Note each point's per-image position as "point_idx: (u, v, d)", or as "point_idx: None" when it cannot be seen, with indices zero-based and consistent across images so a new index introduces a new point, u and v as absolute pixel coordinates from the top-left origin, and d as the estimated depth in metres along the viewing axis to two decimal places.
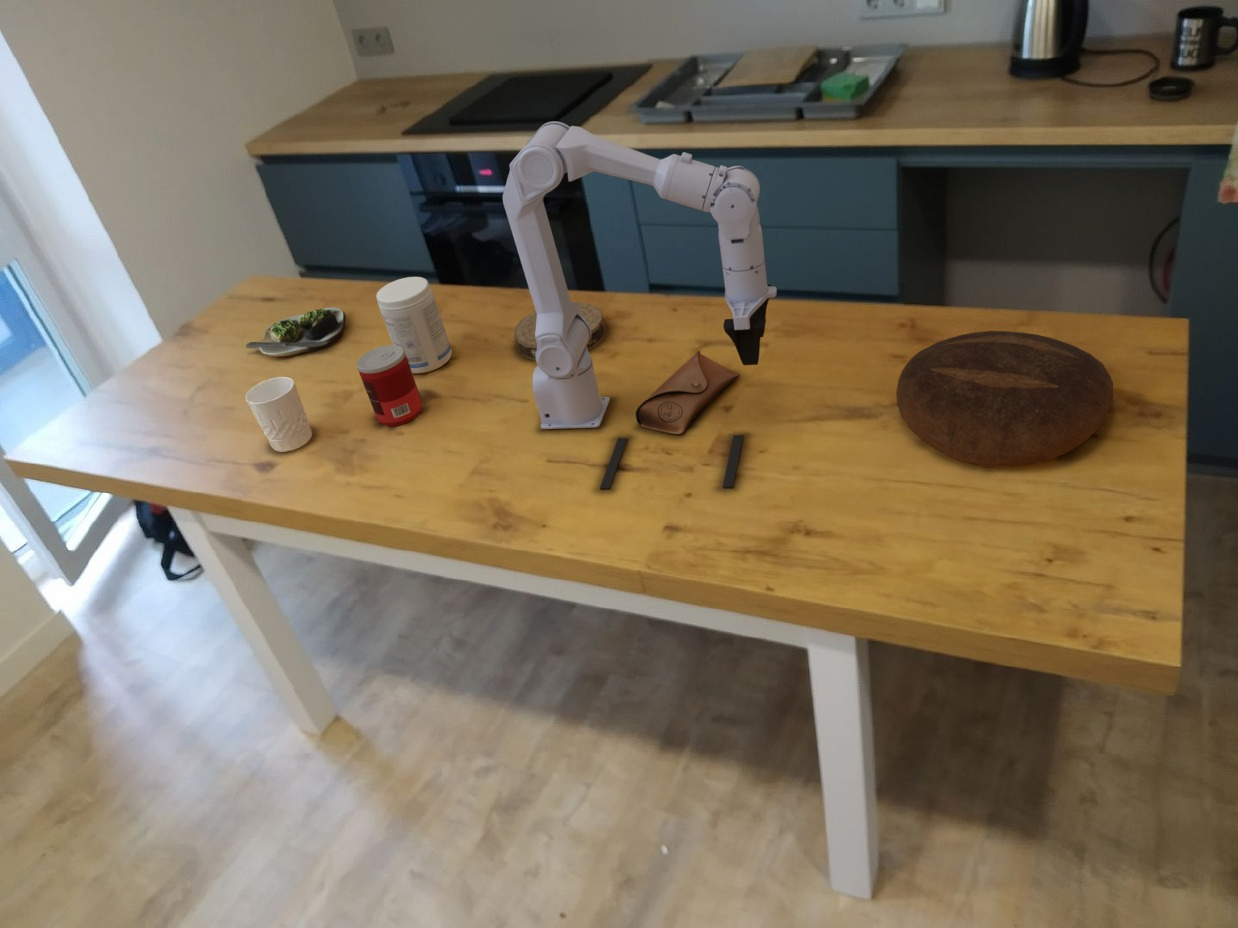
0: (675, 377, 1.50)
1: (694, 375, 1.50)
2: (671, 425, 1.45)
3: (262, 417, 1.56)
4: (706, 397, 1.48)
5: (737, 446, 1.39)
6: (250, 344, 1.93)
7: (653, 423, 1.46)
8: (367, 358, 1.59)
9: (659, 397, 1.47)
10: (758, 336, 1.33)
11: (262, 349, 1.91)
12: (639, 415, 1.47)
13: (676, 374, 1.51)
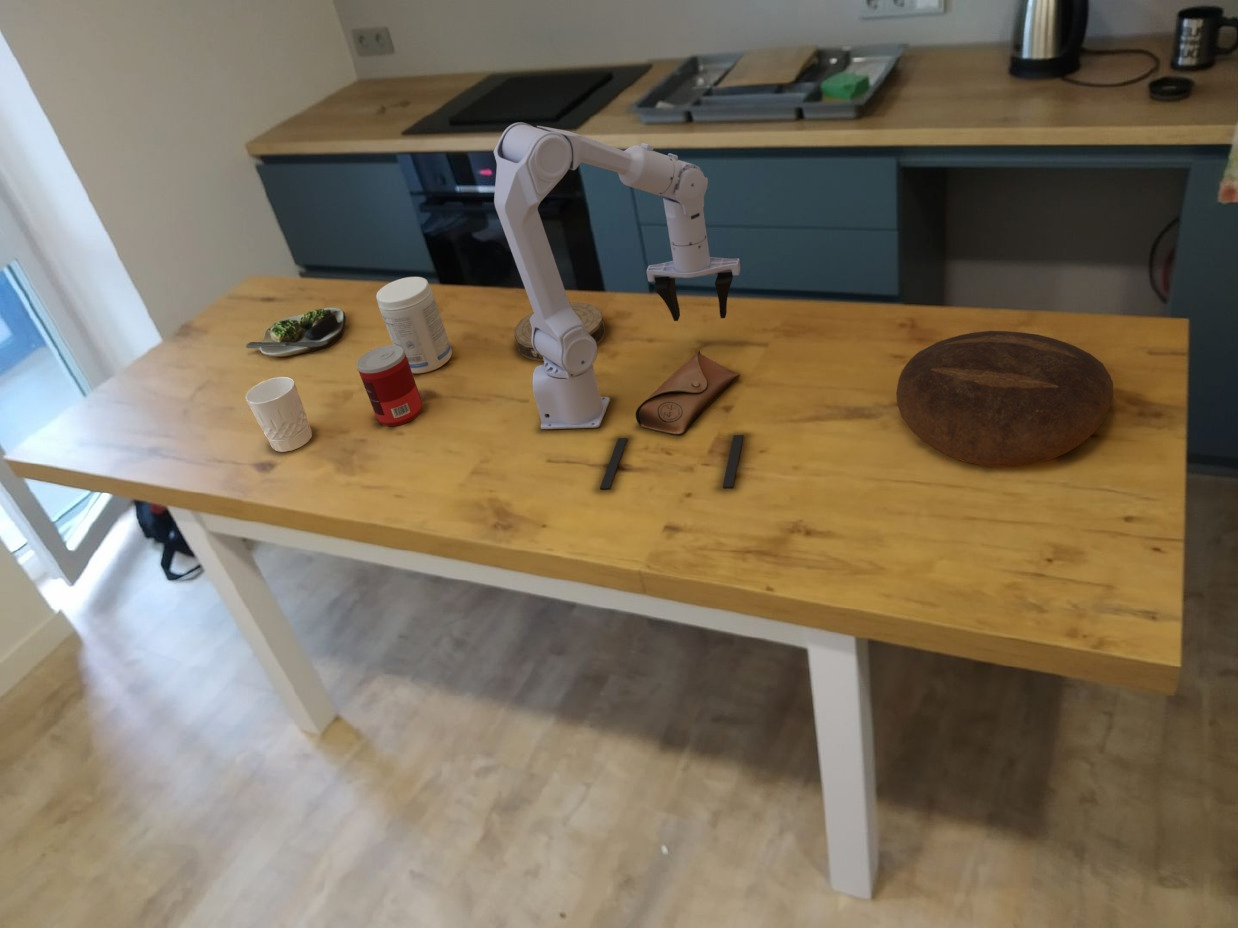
0: (675, 377, 1.50)
1: (694, 375, 1.50)
2: (671, 425, 1.45)
3: (263, 417, 1.56)
4: (706, 397, 1.48)
5: (737, 446, 1.39)
6: (250, 344, 1.93)
7: (653, 423, 1.46)
8: (367, 358, 1.59)
9: (659, 397, 1.47)
10: None
11: (262, 349, 1.91)
12: (639, 415, 1.47)
13: (676, 374, 1.51)
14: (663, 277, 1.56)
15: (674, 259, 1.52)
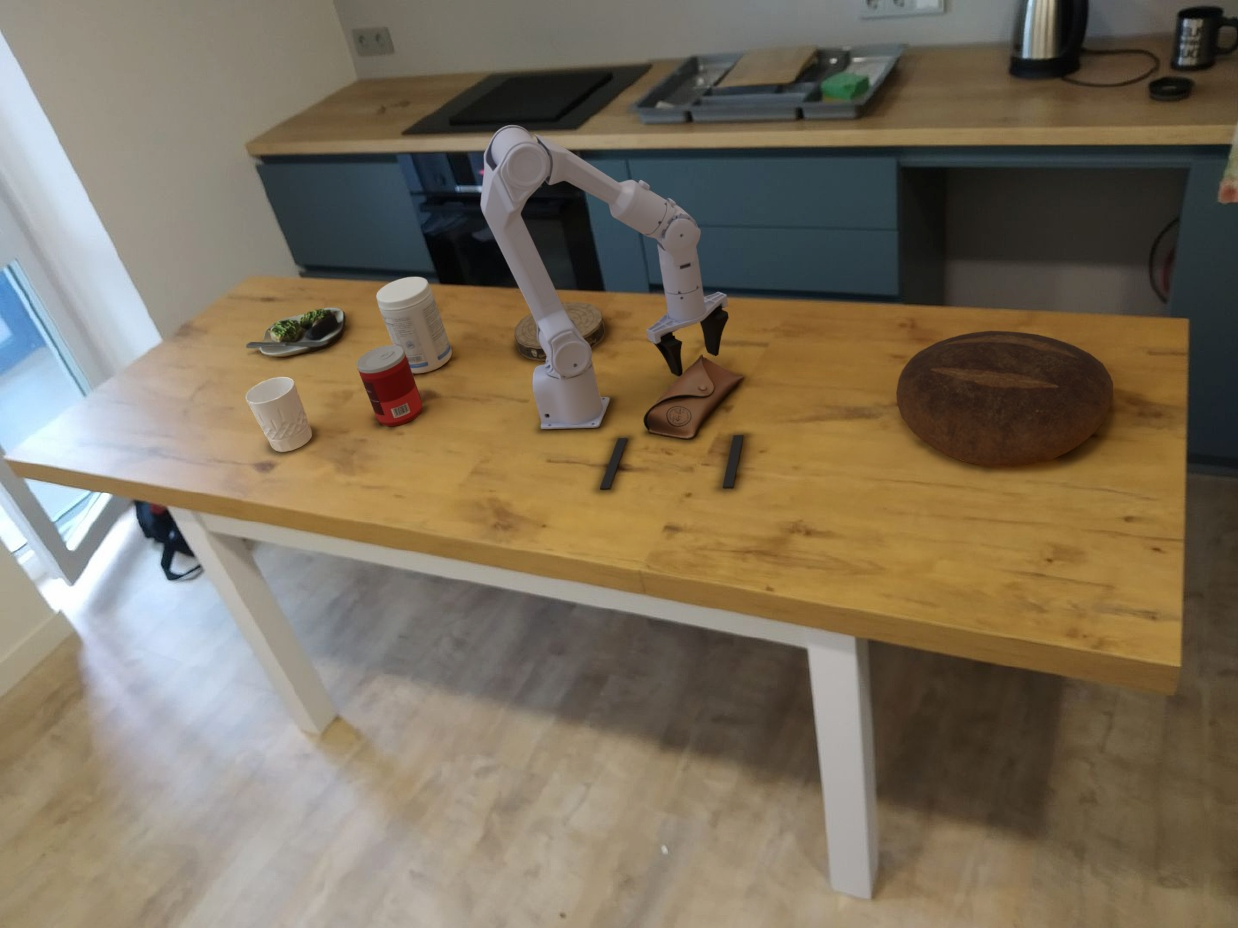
0: (681, 381, 1.49)
1: (699, 378, 1.49)
2: (681, 429, 1.43)
3: (263, 417, 1.56)
4: (713, 400, 1.47)
5: (737, 446, 1.39)
6: (250, 344, 1.93)
7: (661, 428, 1.45)
8: (367, 358, 1.59)
9: (667, 401, 1.46)
10: None
11: (262, 349, 1.91)
12: (647, 420, 1.45)
13: (682, 378, 1.49)
14: (667, 334, 1.49)
15: (680, 309, 1.47)
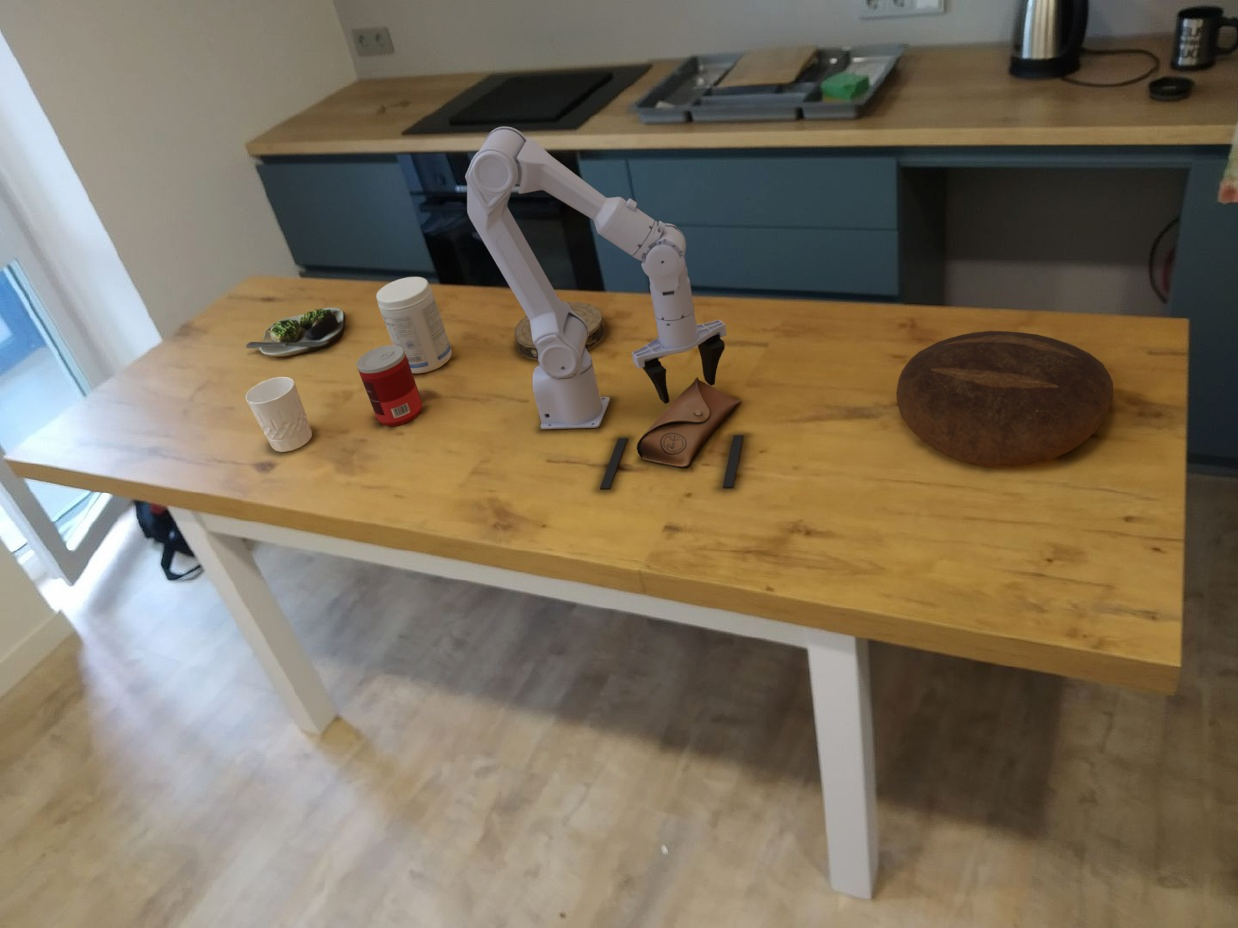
0: (676, 406, 1.43)
1: (695, 403, 1.44)
2: (675, 457, 1.38)
3: (263, 417, 1.56)
4: (709, 426, 1.42)
5: (737, 446, 1.39)
6: (250, 344, 1.93)
7: (655, 455, 1.39)
8: (367, 358, 1.59)
9: (661, 428, 1.40)
10: None
11: (262, 349, 1.91)
12: (641, 448, 1.40)
13: (676, 403, 1.44)
14: (652, 360, 1.43)
15: (667, 336, 1.41)
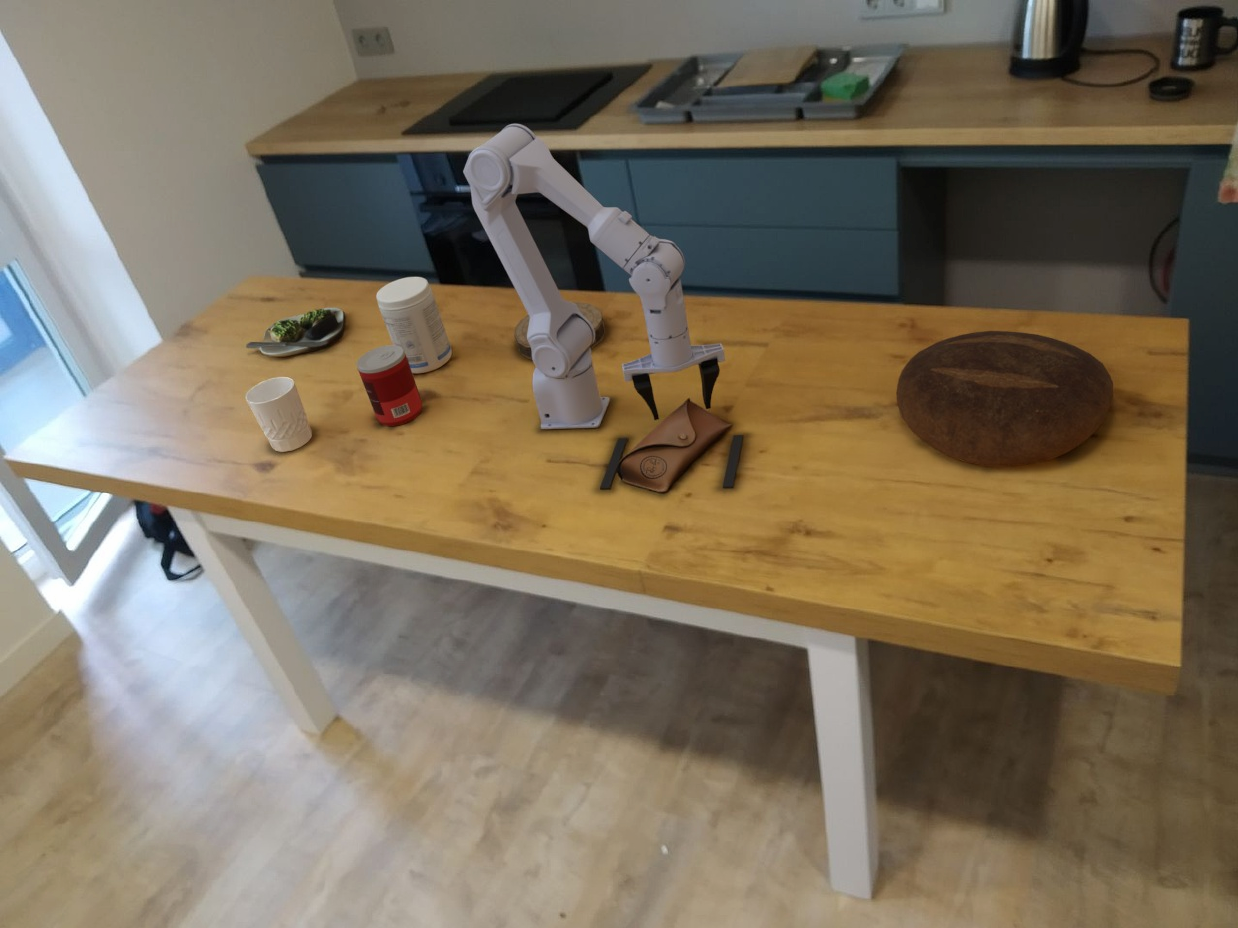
0: (661, 428, 1.39)
1: (681, 426, 1.39)
2: (654, 482, 1.34)
3: (263, 417, 1.56)
4: (694, 451, 1.37)
5: (737, 446, 1.39)
6: (250, 344, 1.93)
7: (635, 478, 1.36)
8: (367, 358, 1.59)
9: (642, 450, 1.36)
10: None
11: (262, 349, 1.91)
12: (620, 469, 1.36)
13: (662, 424, 1.40)
14: (641, 375, 1.40)
15: (656, 354, 1.37)
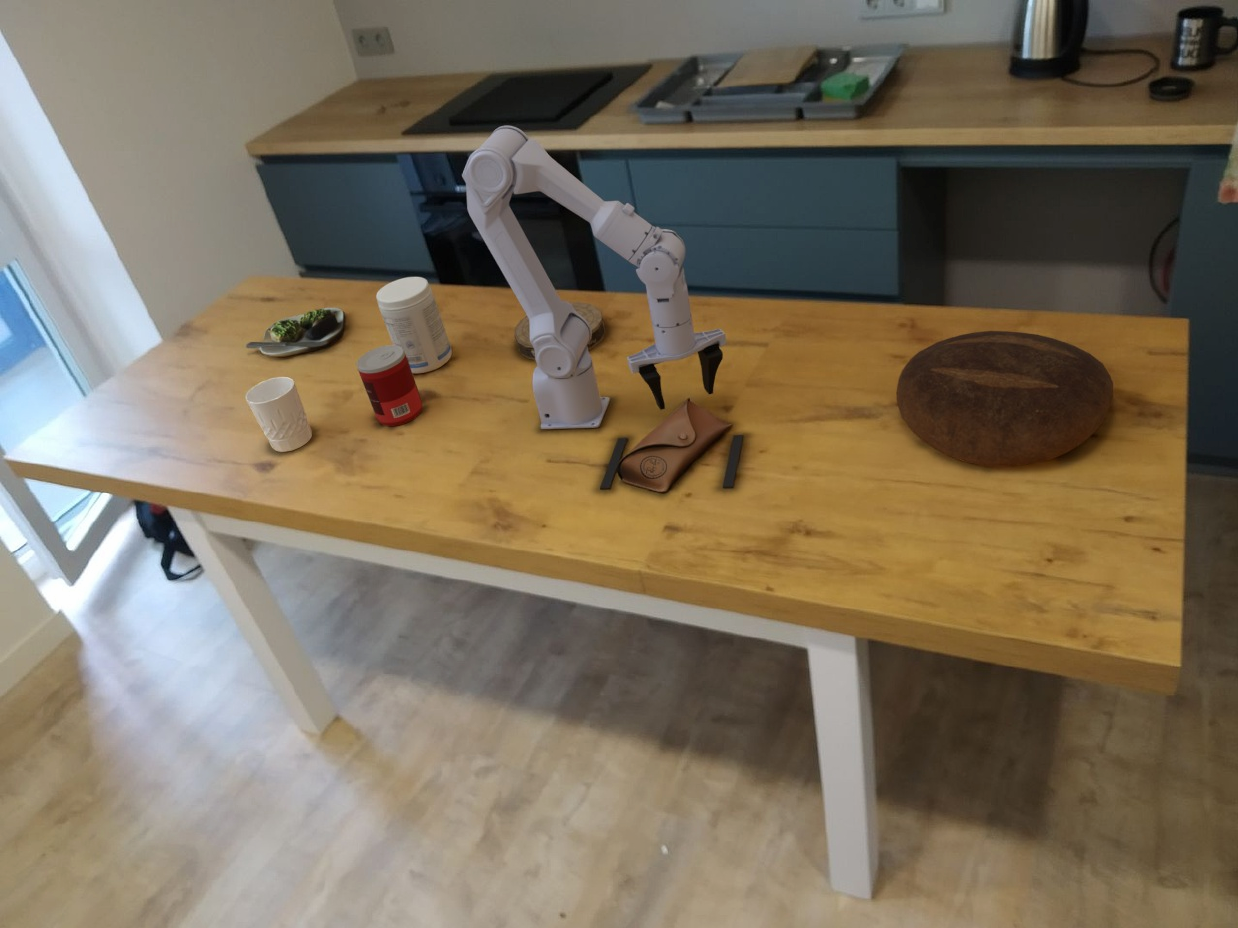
0: (661, 428, 1.39)
1: (681, 426, 1.39)
2: (654, 482, 1.34)
3: (263, 417, 1.56)
4: (694, 451, 1.37)
5: (737, 446, 1.39)
6: (250, 344, 1.93)
7: (635, 478, 1.36)
8: (367, 358, 1.59)
9: (642, 450, 1.36)
10: None
11: (262, 349, 1.91)
12: (620, 469, 1.36)
13: (662, 424, 1.40)
14: (647, 365, 1.42)
15: (662, 343, 1.39)
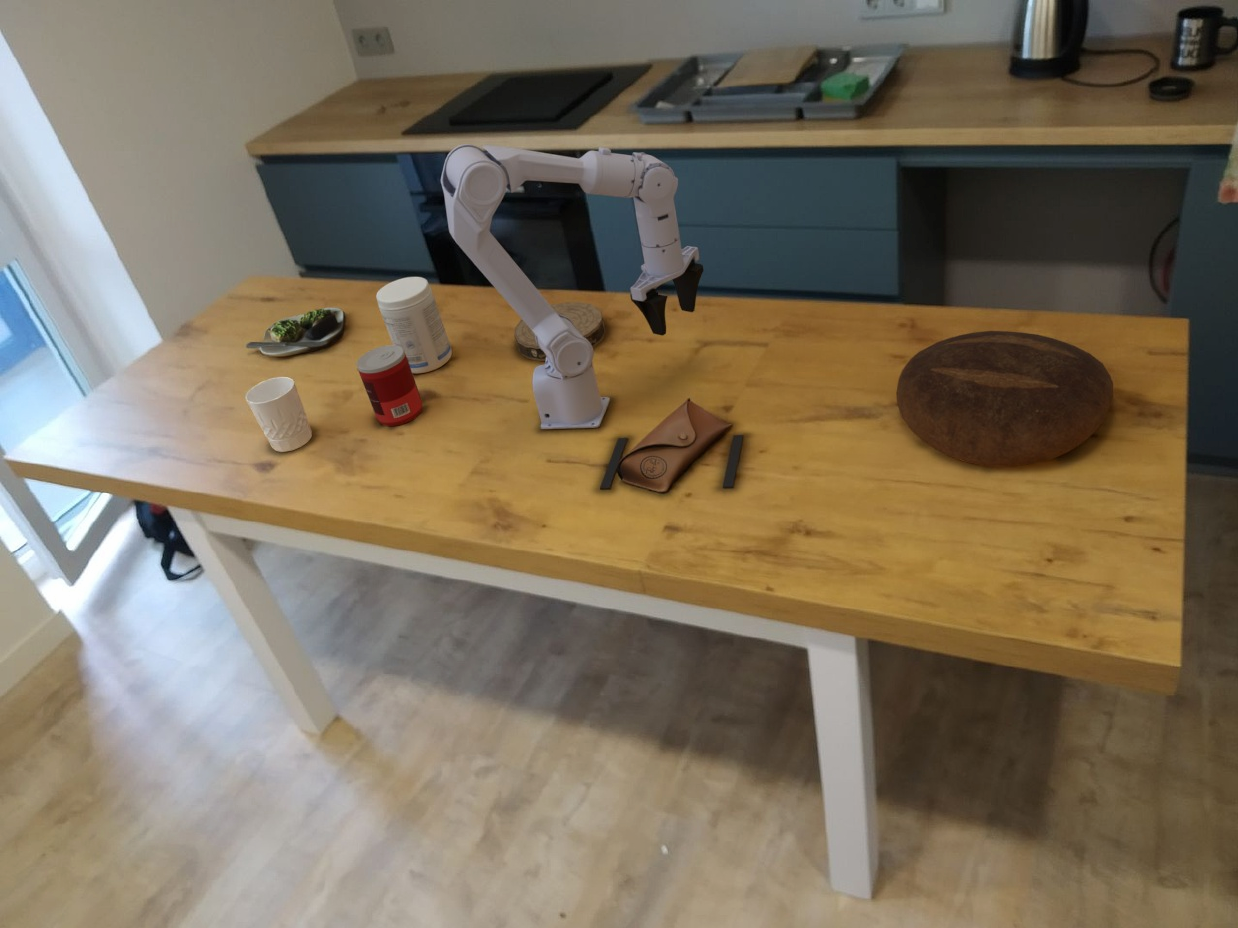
0: (661, 428, 1.39)
1: (681, 426, 1.39)
2: (654, 482, 1.34)
3: (263, 417, 1.56)
4: (694, 451, 1.37)
5: (737, 446, 1.39)
6: (250, 344, 1.93)
7: (635, 478, 1.36)
8: (367, 358, 1.59)
9: (642, 450, 1.36)
10: None
11: (262, 349, 1.91)
12: (620, 469, 1.36)
13: (662, 424, 1.40)
14: (650, 291, 1.44)
15: (662, 263, 1.43)
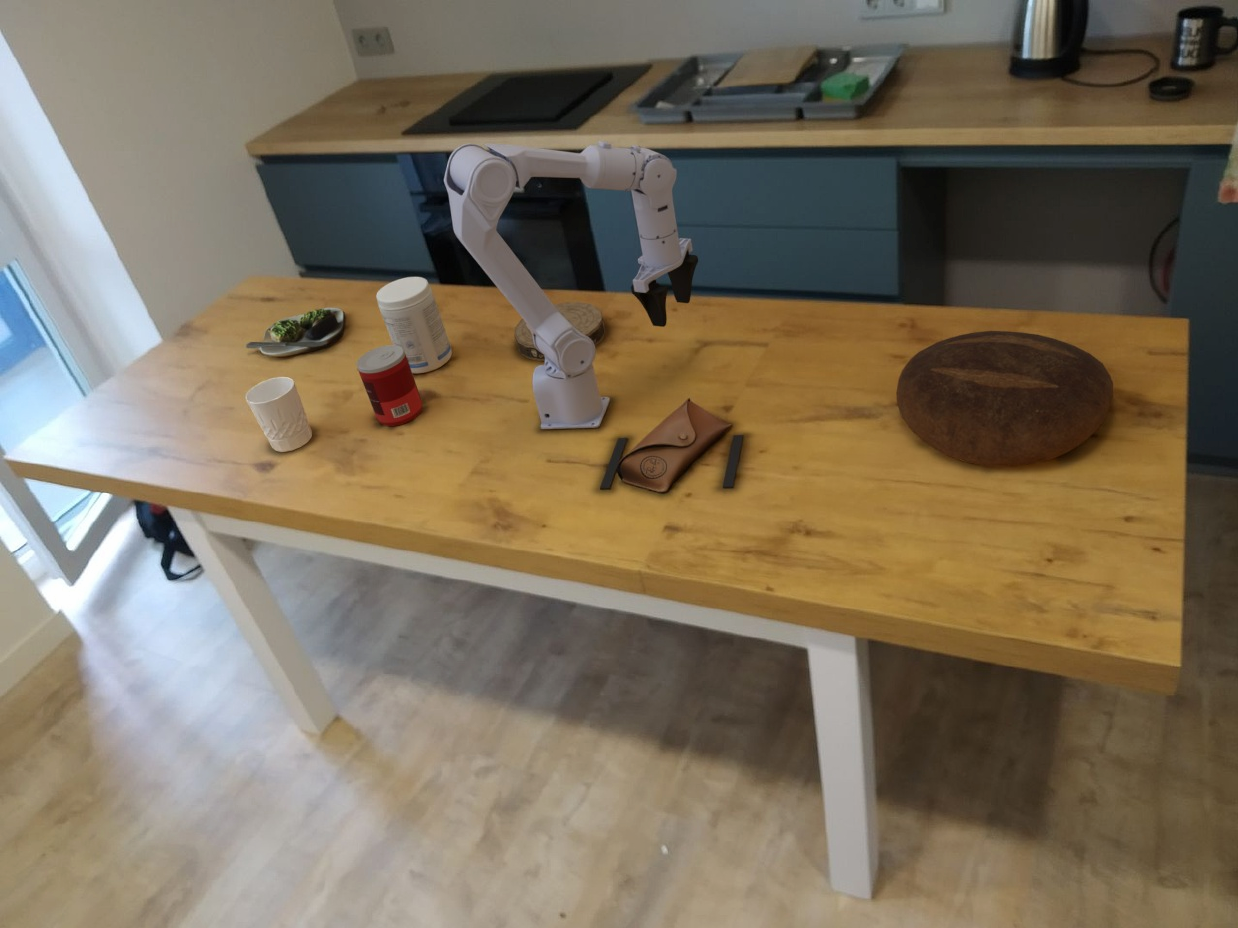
0: (661, 428, 1.39)
1: (681, 426, 1.39)
2: (654, 482, 1.34)
3: (262, 417, 1.56)
4: (694, 451, 1.37)
5: (737, 446, 1.39)
6: (250, 344, 1.93)
7: (635, 478, 1.36)
8: (367, 358, 1.59)
9: (642, 450, 1.36)
10: None
11: (262, 349, 1.91)
12: (620, 469, 1.36)
13: (662, 424, 1.40)
14: (651, 282, 1.46)
15: (662, 254, 1.45)
